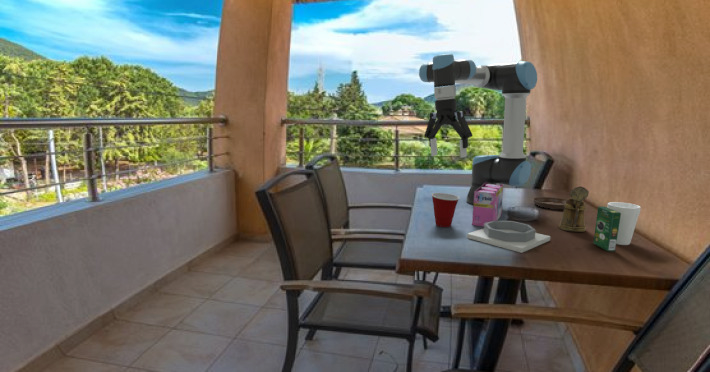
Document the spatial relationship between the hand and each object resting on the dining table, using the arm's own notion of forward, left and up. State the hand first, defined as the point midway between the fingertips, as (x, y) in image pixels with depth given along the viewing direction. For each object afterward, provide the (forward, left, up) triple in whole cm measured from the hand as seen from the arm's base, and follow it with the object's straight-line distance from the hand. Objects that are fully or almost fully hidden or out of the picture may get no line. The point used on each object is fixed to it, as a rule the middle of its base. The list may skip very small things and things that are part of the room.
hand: (448, 156), depth 155 cm
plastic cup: (0, 0, -27) cm, 27 cm away
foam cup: (-30, +51, -27) cm, 65 cm away
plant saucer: (-68, +12, -27) cm, 74 cm away
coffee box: (-19, +50, -27) cm, 60 cm away
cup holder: (-3, +25, -27) cm, 37 cm away
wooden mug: (-32, +35, -27) cm, 54 cm away
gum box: (-21, +6, -27) cm, 35 cm away
